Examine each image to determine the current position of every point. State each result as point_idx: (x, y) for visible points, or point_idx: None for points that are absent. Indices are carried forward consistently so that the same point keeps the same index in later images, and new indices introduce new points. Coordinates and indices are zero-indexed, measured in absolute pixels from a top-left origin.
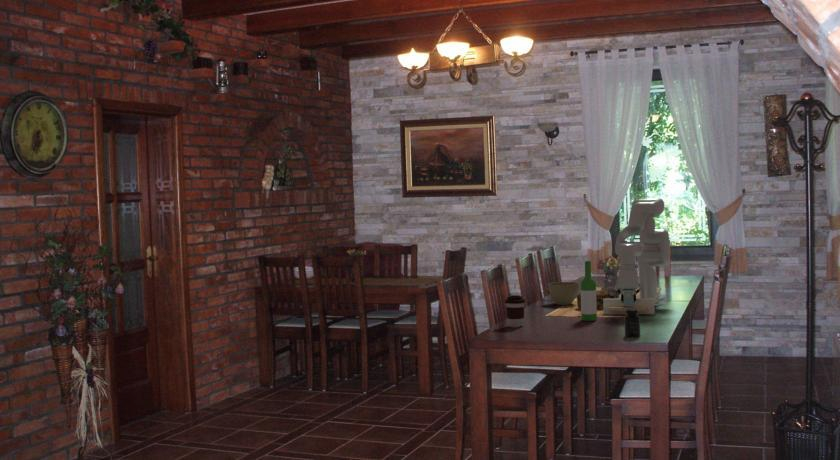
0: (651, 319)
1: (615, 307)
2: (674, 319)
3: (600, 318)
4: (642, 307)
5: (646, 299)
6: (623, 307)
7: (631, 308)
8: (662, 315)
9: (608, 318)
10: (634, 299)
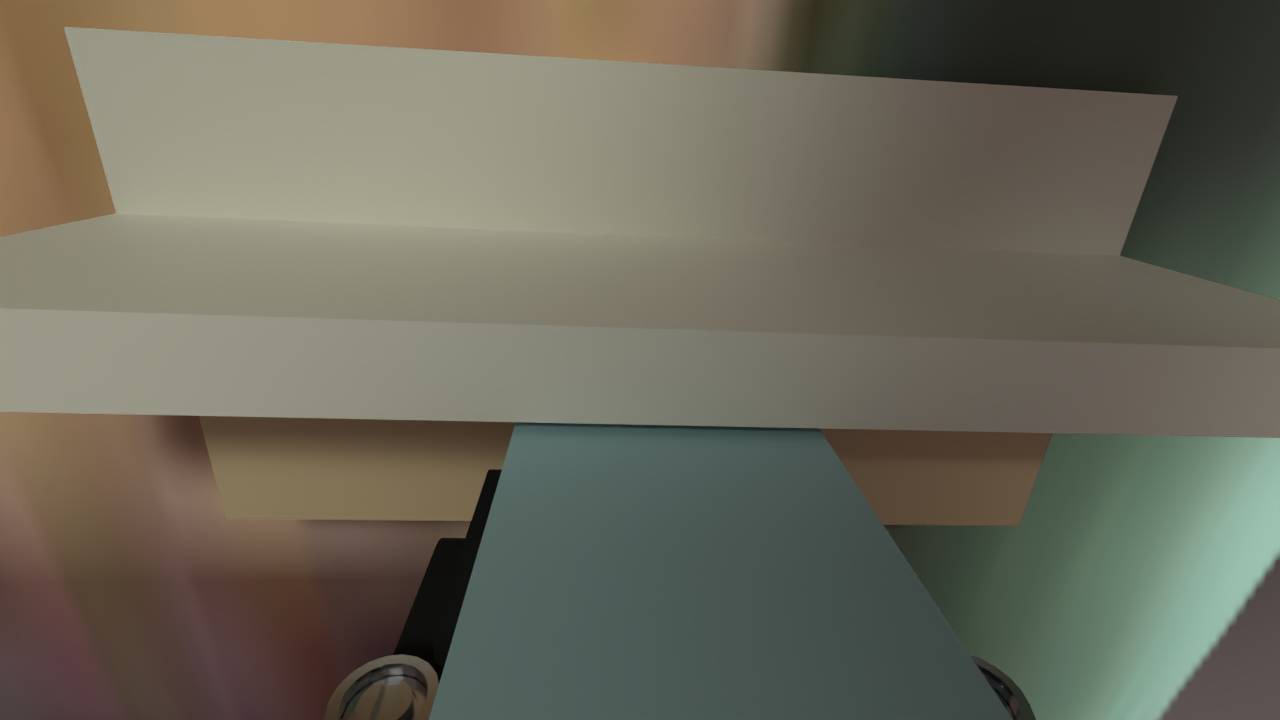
0: None
1: (358, 464)
2: (1145, 702)
3: (231, 667)
4: (922, 470)
5: (1193, 430)
6: None
7: None
8: None
9: (345, 665)
10: None
